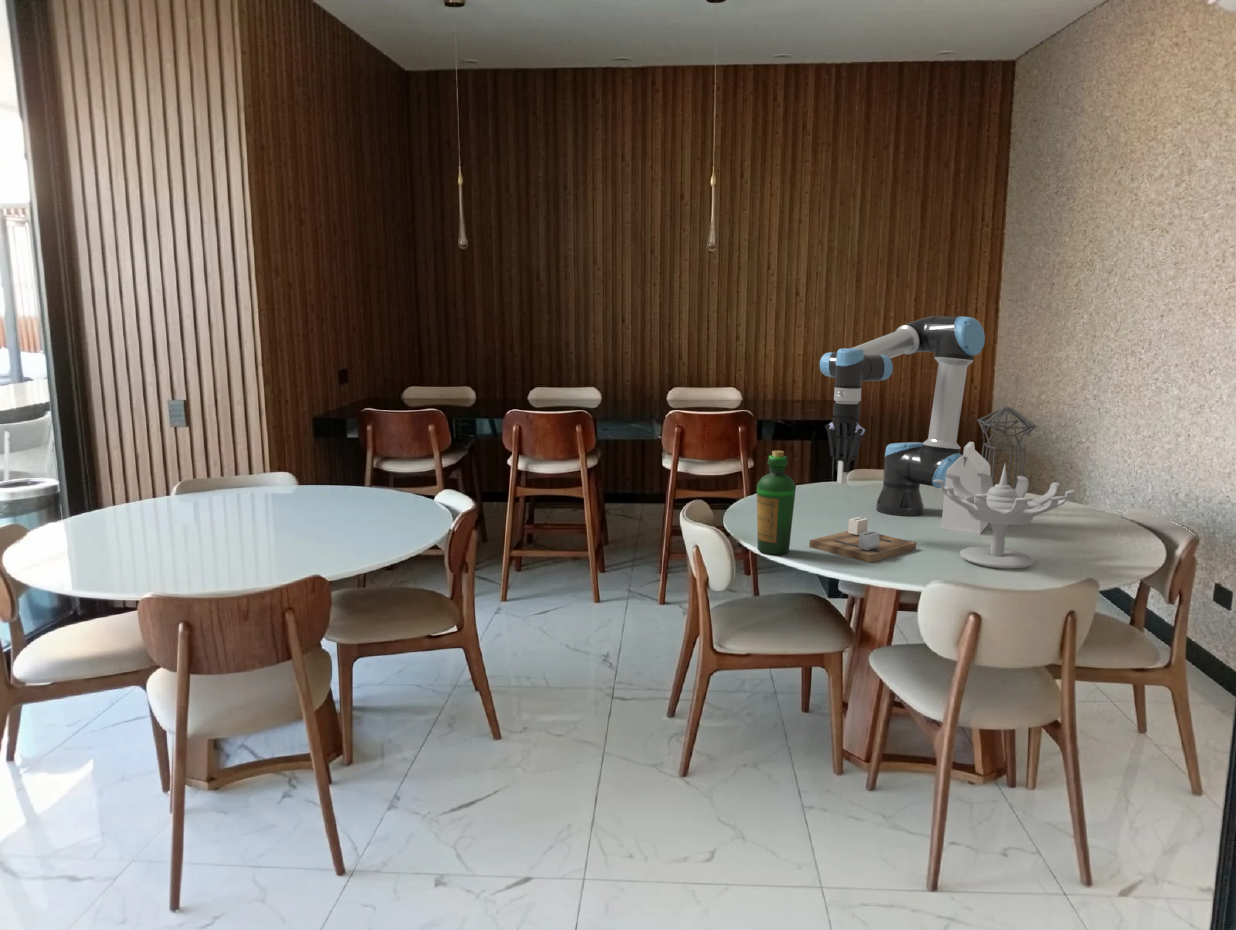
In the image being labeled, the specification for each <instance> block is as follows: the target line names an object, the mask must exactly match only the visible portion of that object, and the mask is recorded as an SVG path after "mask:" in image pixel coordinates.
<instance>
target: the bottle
mask: <svg viewBox="0 0 1236 930" xmlns="http://www.w3.org/2000/svg"><path fill="white" fill-rule="evenodd" d="M784 454H785V451H783V450H772V451H771V454H769V456H768V459H767V463H766V464H767V465H768V468H769V473H766V474H765V475H763V476H762V477H760V479H759V480H758V482H757V484H756V517H757V518H756V522H757V524H756V526H757V533H756V534H757V536H756V537H757V550H758V551H759V552H761V553H762V554H765V555H770V556H771V555H772V556H780V555H785V554H787V553H789V551H790V545H791V544H790V543H791V535H792V524H793V517H794V508H795V499H796V490H797V485H796V483H795V481H794V479H793V478H792V477H790V476H789V475H787V474H785V472H786V471H785V470H786V466H788V465H789V464H788V459H787V458H788V456H786V455H784Z"/></svg>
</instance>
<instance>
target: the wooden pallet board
mask: <svg viewBox="0 0 1236 930" xmlns="http://www.w3.org/2000/svg"><path fill="white" fill-rule="evenodd" d="M867 532H869V531H868V530H867ZM808 546H809V548H811V549H816V550H819V551H823V552H827V553H830V554H835V555H837V556H838V555H839V556H842V557H847V558H850V559H855V560H857V561H861V562H865V563H874V562H878V561H881V560H884V559H888V558H891V557H894V556H898V555H901V554H904V553H905V554H906V553H910V552H912V551H915V550H917V542H914V541H910V540H906V539H901V538H897V537H893V536H890V535H884V534H881V533H880V535H879V548H875V549H872V550H864V549H860V548H859V535H855V534H851V533H848V530H845V531H841V532H837V533H834V534H830V535H829V534H828V535H825V536H821V537H815V538H813V539H809V545H808Z"/></svg>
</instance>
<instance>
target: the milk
mask: <svg viewBox="0 0 1236 930" xmlns="http://www.w3.org/2000/svg"><path fill="white" fill-rule="evenodd" d="M975 448H976V447H975V443H974V441H969V442H967V444H966V445H965V446H963V454H961V455H962V456H961V457H960V458H959V459H957V460H956V461H955V462H954V463H953V464H952V465H951V466H950V467H949V468H948V469H947V472H946V475H948V474H952V475H956V476H959V477H960V482H961V485H962V486H963V487H964V488H965V489H966V490H967V491H968V492H970V493H971V494H973V495H976V494H982V488H981V477H979V476H978V475H977V474H978V473H984V474H988V475H989V476H991V465H990V462H989V463H988V460H987V459H986V460H985V457H984V456H983V457H982V456H981V455H982V454H980V453H979V452H978V451H977V450H976V449H975ZM952 482H953V479H950V478H948V477H946V479H945V487H952V488H953V489H954V495H956V496H958V497H960V498H963V497H962V496H961V495H960V494H959V493H958V492H957V491H956V489H955V488H954V486H953V483H952ZM988 524H989V523H988V522H983V521H979V520H977V519H974V518H972V517H971V516H970V515H969V511H968V510H967V509H966V508H964V507H963V506H961V505H959V504H957V503H956V502H954V501H953V500H951V499H950V498H949V497H948V496H947V495H945V494H944V493H943V504H942V515H941V526H940V529H941V530H948V531H953V530H955V532H961V533H968V534H975V535H981V533H982V532H984V530H985V529H986V527H987V526H988Z"/></svg>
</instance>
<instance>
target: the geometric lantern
mask: <svg viewBox="0 0 1236 930" xmlns="http://www.w3.org/2000/svg"><path fill="white" fill-rule="evenodd" d="M1004 415H1005V417H1004V421H1000V420H1001V418H1003V416H1004ZM1008 416H1009V419H1010V420H1008ZM987 418H988V419H987ZM1013 418H1014V419H1015V420H1014V419H1013ZM976 421H977V423H978V424H979V425H980V428H981V432H982V434H983V435H982V436H983V437H982V438H983V440H982V441H983V443H982V451H981V454H980V455H981V456H982V457H983V458H984V459H985V460H986V461H987V462H988V463H989V464H990V461H991V453H992V450H993V458H992V460H993V461H992V467H991V468H992V471H991V477H992V483H993V484H994V478H995V477H994V476H995V463H996V450H1010V457H1009V464H1008V473H1007V484H1008V485H1010V478H1011V477H1010V476H1011V470H1012V469H1011V468H1012V461H1013V452H1014V450H1015V456H1014V457H1015V459H1014V478H1013V481H1014V482H1013V489H1014V490H1015V488H1016V485H1017V467H1018V476H1023V477H1025V467H1026V466H1025V464H1026V463H1025V461H1026V447H1025V440H1026V436H1030V433H1032V431H1034V430H1035V428H1038V425H1035V424H1034V423H1033V422H1032V421H1030V420H1029V419H1028V418H1026V417H1025V416H1023V415H1022V414H1021V413H1019V412H1018V411H1017V410H1015V409H1014V408H1013V407H1009V406H1004V407H1002V408H1000V409H997V410H996V411H994V412H991V413H989V414H987V415H985V416H982V417H980V418H978V419H977V420H976ZM993 423H994V425H993ZM1008 423H1009V424H1011V425H1009V426H1007V424H1008ZM1017 423H1021V426H1016V424H1017ZM1002 424H1004V425H1002ZM1000 427H1001V428H1000ZM989 428H991V429H993V432H992V433H991V436H990V437H989V436H988V435H989V434H988V433H987V432H988V430H989ZM1002 428H1003V429H1002ZM1009 429H1014V434H1008V431H1007V430H1009ZM1019 429H1022V430H1020V431H1019V432H1017V431H1016V430H1019ZM997 431H998V432H1001V433H1002V434H1003V435H1002V437H1001V438H1000V439H999V441H997V442H990V441H991V440H992V438H993V436H994V435H995V433H996V432H997ZM1022 433H1023V434H1022ZM1020 434H1022V435H1021V436H1020V438H1019V439H1018V435H1020ZM985 437H986V439H987V442H986V441H985ZM1005 437H1007V439H1008V441H1010V443H1003V442H1002V443H1001V441H1002V440H1003V439H1004V438H1005ZM1010 437H1015V439H1016V442H1017V443H1013V442H1012V441H1011V439H1010ZM1022 439H1023V442H1022V445H1021V444H1020V443H1021V441H1022ZM992 445H994V446H992ZM997 445H1004V446H1005V445H1008V446H1011V448H1010V447H1009V448H1008V447H996V446H997ZM1014 447H1015V448H1014ZM1018 447H1019V448H1018ZM985 448H986V449H985ZM988 451H989V452H988ZM1018 451H1019V454H1018ZM1022 451H1023V452H1022ZM984 452H985V454H984ZM1018 459H1019V460H1018ZM1017 465H1018V466H1017ZM1021 467H1022V468H1021ZM1021 469H1022V470H1021ZM1021 473H1022V475H1021Z"/></svg>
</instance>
